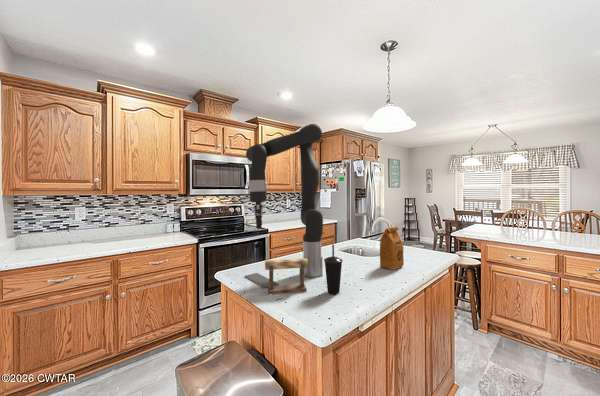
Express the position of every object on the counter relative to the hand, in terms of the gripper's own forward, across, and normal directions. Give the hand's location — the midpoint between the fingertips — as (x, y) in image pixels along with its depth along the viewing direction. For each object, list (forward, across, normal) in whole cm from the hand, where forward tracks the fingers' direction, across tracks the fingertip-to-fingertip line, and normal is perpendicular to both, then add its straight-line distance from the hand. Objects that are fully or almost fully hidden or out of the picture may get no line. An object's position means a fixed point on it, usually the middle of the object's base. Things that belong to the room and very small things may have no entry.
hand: (259, 227), depth 112 cm
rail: (+17, -7, -11) cm, 21 cm away
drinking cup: (+27, -12, -30) cm, 42 cm away
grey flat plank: (+27, +7, +1) cm, 28 cm away
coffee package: (+29, +16, -70) cm, 77 cm away
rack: (+27, -7, -11) cm, 30 cm away
